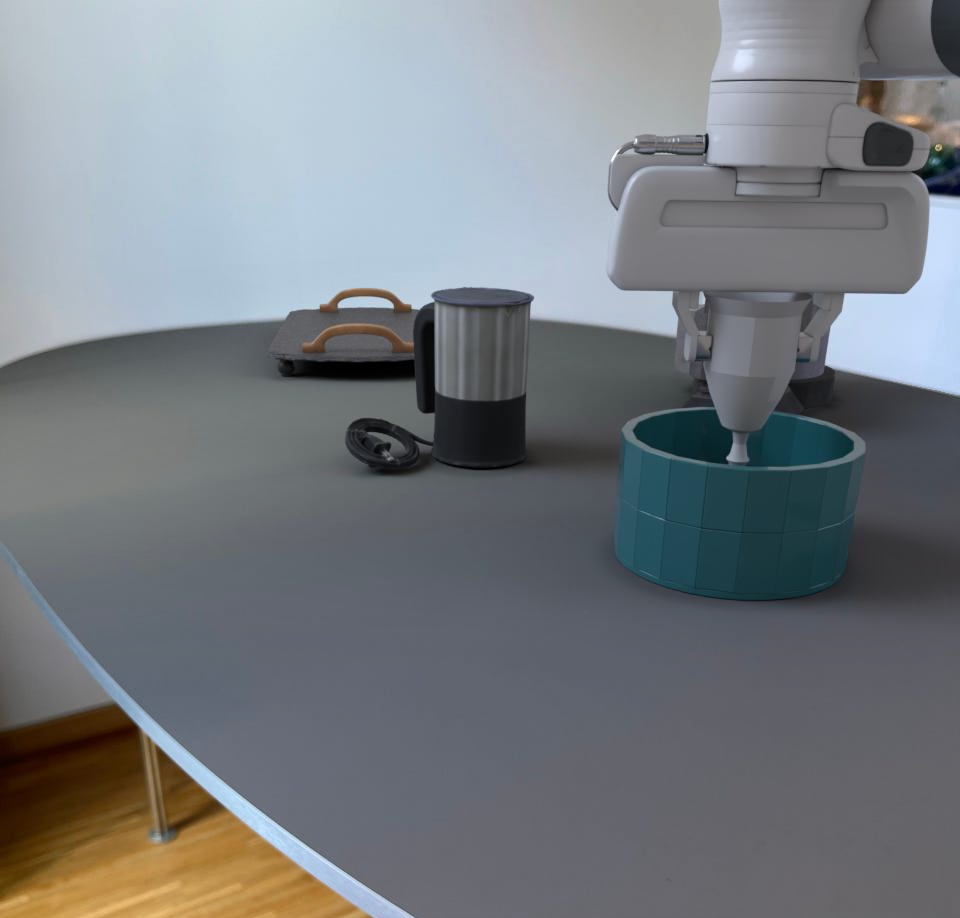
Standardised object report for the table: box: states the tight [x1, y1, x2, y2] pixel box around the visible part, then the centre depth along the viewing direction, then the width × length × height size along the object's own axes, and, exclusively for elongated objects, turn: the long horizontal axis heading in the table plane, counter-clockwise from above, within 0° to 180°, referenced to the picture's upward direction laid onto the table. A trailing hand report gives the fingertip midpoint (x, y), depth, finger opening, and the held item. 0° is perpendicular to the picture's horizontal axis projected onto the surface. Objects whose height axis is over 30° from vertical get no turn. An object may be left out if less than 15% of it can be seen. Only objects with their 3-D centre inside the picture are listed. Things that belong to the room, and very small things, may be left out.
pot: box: [613, 407, 867, 601], centre depth 77 cm, size 17×17×9 cm
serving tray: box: [266, 287, 420, 377], centre depth 145 cm, size 39×23×6 cm, turn 4°
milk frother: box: [344, 286, 535, 470], centre depth 97 cm, size 14×16×15 cm
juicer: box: [673, 293, 836, 415], centre depth 117 cm, size 30×16×24 cm, turn 155°
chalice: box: [702, 292, 813, 466], centre depth 75 cm, size 7×7×18 cm
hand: (749, 360), depth 73 cm, fingers closed on chalice, 6 cm apart
